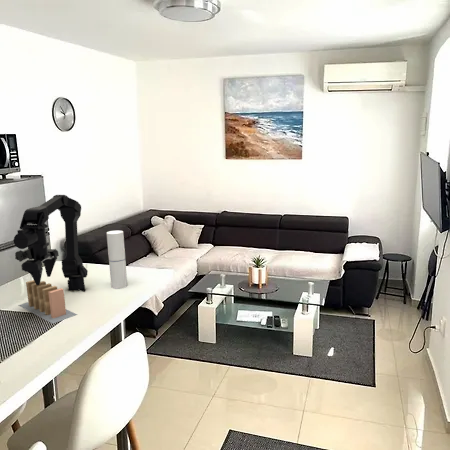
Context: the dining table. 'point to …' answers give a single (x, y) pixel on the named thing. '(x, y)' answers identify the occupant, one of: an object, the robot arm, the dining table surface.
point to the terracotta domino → (57, 303)
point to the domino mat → (47, 317)
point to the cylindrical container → (117, 259)
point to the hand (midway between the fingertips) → (43, 280)
